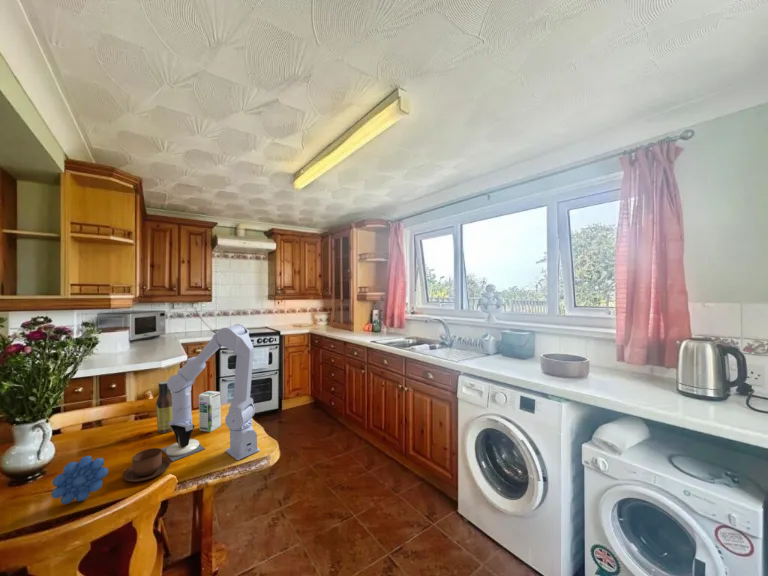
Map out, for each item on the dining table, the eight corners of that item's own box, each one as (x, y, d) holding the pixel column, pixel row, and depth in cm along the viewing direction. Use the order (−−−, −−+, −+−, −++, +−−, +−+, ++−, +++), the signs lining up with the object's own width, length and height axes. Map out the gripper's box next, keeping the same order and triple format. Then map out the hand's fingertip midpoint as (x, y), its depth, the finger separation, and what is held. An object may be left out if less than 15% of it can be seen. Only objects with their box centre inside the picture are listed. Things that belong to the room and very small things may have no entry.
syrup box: (198, 430, 128) (197, 394, 127) (210, 424, 133) (209, 389, 133) (210, 432, 126) (209, 396, 126) (221, 425, 132) (220, 391, 131)
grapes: (113, 485, 94) (111, 444, 94) (106, 498, 88) (105, 455, 88) (59, 498, 88) (57, 456, 88) (48, 514, 82) (46, 468, 82)
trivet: (204, 449, 113) (204, 448, 113) (172, 461, 106) (172, 460, 106) (192, 438, 121) (192, 437, 121) (161, 449, 113) (161, 448, 113)
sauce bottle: (165, 426, 132) (163, 379, 131) (179, 426, 131) (178, 379, 131) (153, 434, 125) (151, 384, 125) (168, 434, 125) (166, 384, 124)
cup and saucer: (120, 474, 100) (120, 454, 99) (166, 458, 108) (165, 440, 108) (126, 491, 91) (125, 470, 91) (175, 473, 100) (174, 453, 99)
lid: (203, 447, 114) (203, 434, 114) (171, 459, 106) (170, 445, 106) (193, 438, 120) (193, 426, 120) (162, 449, 113) (161, 436, 113)
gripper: (162, 405, 115) (163, 442, 115) (175, 415, 105) (176, 456, 105) (184, 399, 120) (185, 435, 120) (199, 409, 110) (200, 447, 111)
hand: (182, 444), depth 113 cm, fingers open, 3 cm apart
